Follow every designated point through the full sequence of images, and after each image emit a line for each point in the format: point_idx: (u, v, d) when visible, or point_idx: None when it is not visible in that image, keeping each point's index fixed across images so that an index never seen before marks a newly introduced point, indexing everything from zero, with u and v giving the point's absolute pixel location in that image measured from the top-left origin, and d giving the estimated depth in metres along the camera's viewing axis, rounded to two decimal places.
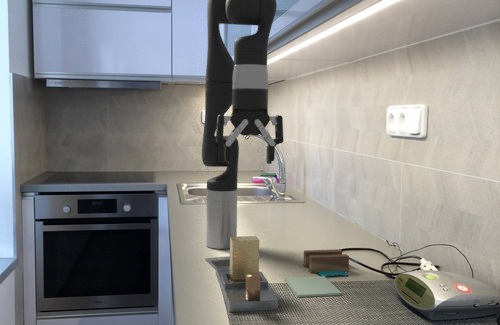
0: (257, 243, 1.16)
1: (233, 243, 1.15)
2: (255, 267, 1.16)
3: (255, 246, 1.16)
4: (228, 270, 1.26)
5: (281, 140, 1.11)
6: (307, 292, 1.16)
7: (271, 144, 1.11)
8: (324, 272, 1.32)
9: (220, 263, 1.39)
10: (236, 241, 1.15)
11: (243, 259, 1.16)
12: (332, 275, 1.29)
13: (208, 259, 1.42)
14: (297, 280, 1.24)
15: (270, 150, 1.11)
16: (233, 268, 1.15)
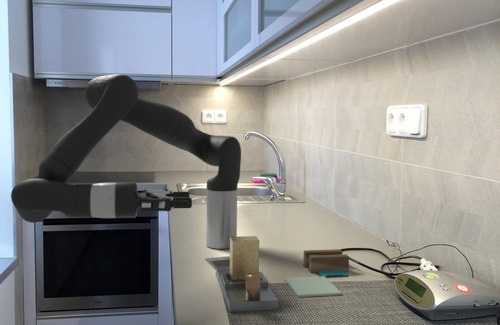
0: (257, 243, 1.16)
1: (233, 243, 1.15)
2: (255, 267, 1.16)
3: (255, 246, 1.16)
4: (228, 270, 1.26)
5: None
6: (307, 292, 1.16)
7: None
8: (324, 272, 1.32)
9: (220, 263, 1.39)
10: (236, 241, 1.15)
11: (243, 259, 1.16)
12: (332, 275, 1.29)
13: (208, 259, 1.42)
14: (297, 280, 1.24)
15: None
16: (233, 268, 1.15)
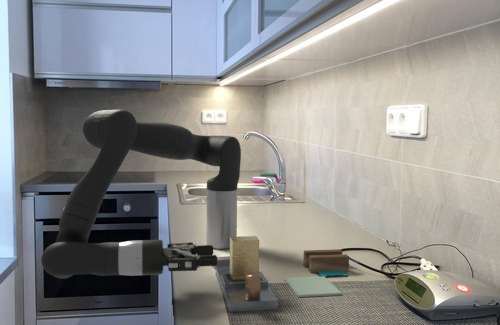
0: (257, 243, 1.16)
1: (233, 243, 1.15)
2: (255, 267, 1.16)
3: (255, 246, 1.16)
4: (228, 270, 1.26)
5: None
6: (307, 292, 1.16)
7: None
8: (324, 272, 1.32)
9: (220, 263, 1.39)
10: (236, 241, 1.15)
11: (243, 259, 1.16)
12: (332, 275, 1.29)
13: None
14: (297, 280, 1.24)
15: None
16: (233, 268, 1.15)
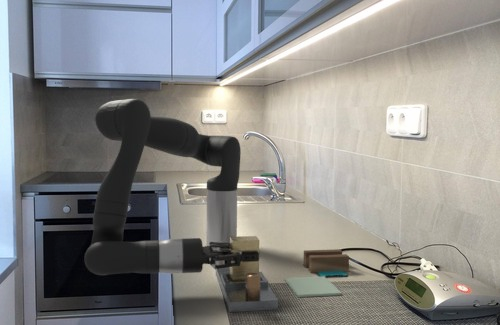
0: (257, 243, 1.16)
1: (233, 243, 1.15)
2: (255, 267, 1.16)
3: (255, 246, 1.16)
4: (228, 270, 1.26)
5: (237, 265, 1.13)
6: (307, 292, 1.16)
7: None
8: (323, 272, 1.32)
9: None
10: (236, 241, 1.15)
11: None
12: (331, 275, 1.29)
13: None
14: (297, 280, 1.24)
15: None
16: (233, 268, 1.15)
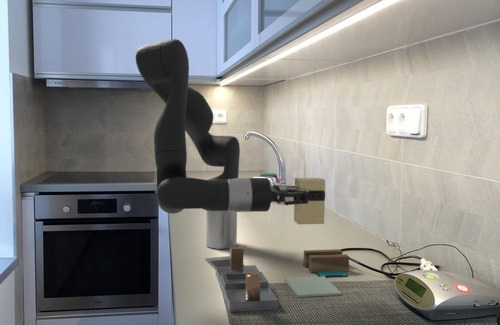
0: (323, 183, 1.17)
1: (300, 182, 1.16)
2: (320, 206, 1.18)
3: (321, 186, 1.17)
4: (228, 270, 1.26)
5: (305, 203, 1.14)
6: (307, 292, 1.16)
7: None
8: (323, 272, 1.32)
9: (220, 263, 1.39)
10: (303, 180, 1.16)
11: None
12: (331, 275, 1.29)
13: (208, 259, 1.42)
14: (297, 280, 1.24)
15: (312, 200, 1.17)
16: (299, 207, 1.17)
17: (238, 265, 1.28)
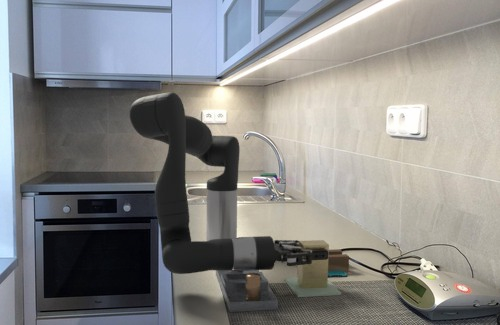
0: (327, 248, 1.19)
1: (304, 247, 1.18)
2: (324, 270, 1.19)
3: None
4: (228, 270, 1.26)
5: (309, 263, 1.15)
6: (307, 292, 1.16)
7: None
8: None
9: None
10: (307, 246, 1.18)
11: (313, 263, 1.19)
12: (330, 275, 1.29)
13: None
14: None
15: None
16: (303, 272, 1.18)
17: None
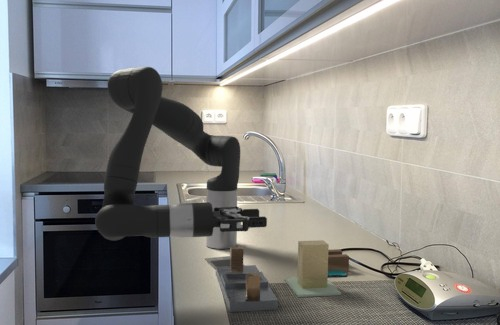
0: (326, 247, 1.19)
1: (303, 247, 1.18)
2: (324, 270, 1.19)
3: (324, 250, 1.19)
4: (228, 270, 1.26)
5: None
6: (307, 292, 1.16)
7: None
8: None
9: (220, 263, 1.38)
10: (306, 245, 1.18)
11: (313, 263, 1.19)
12: (330, 275, 1.29)
13: (207, 259, 1.42)
14: None
15: None
16: (303, 272, 1.18)
17: (238, 265, 1.28)
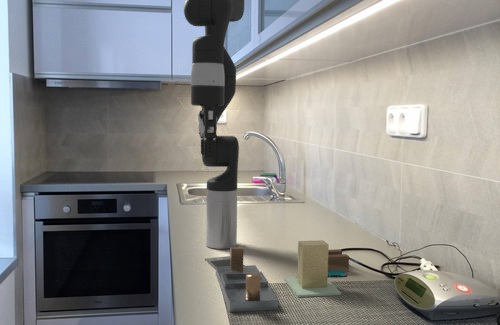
0: (326, 247, 1.19)
1: (303, 247, 1.18)
2: (324, 270, 1.19)
3: (324, 250, 1.19)
4: (228, 270, 1.26)
5: (204, 135, 1.12)
6: (307, 292, 1.16)
7: (203, 138, 1.14)
8: None
9: (220, 263, 1.38)
10: (306, 245, 1.18)
11: (313, 263, 1.19)
12: (329, 275, 1.29)
13: (207, 259, 1.42)
14: None
15: (204, 144, 1.14)
16: (303, 272, 1.18)
17: (238, 265, 1.28)
